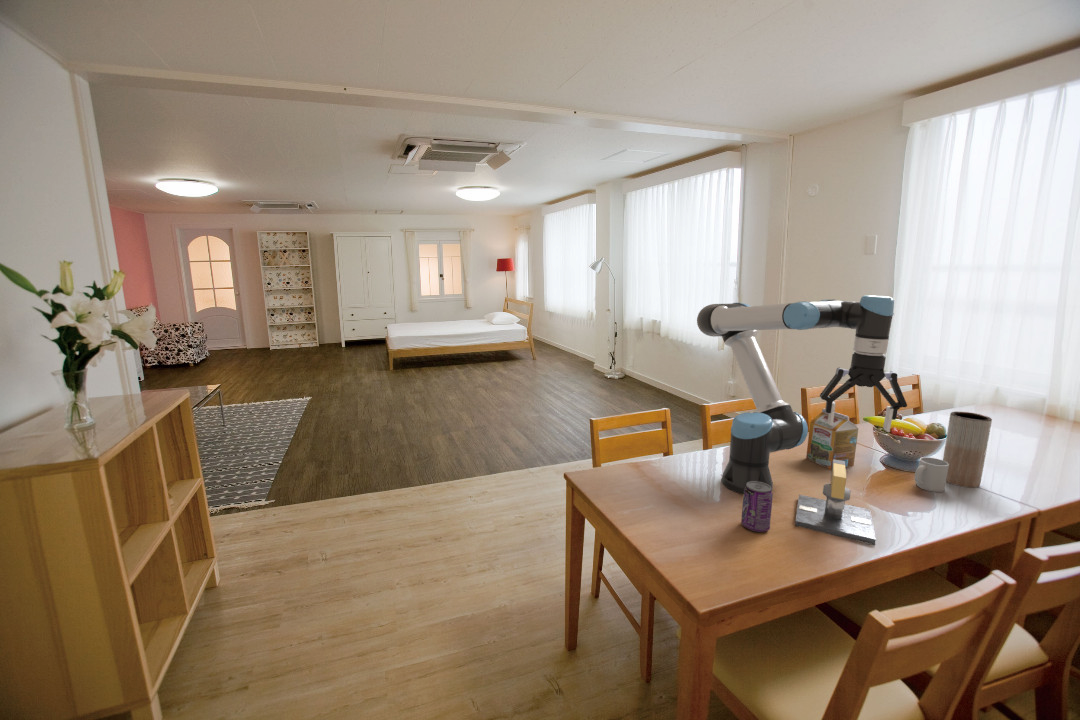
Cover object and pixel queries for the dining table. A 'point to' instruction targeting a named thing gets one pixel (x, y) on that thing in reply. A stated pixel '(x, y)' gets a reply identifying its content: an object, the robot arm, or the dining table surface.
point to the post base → (835, 518)
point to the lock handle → (837, 483)
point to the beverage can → (757, 506)
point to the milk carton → (832, 440)
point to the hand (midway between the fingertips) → (857, 427)
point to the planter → (966, 448)
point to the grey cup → (931, 474)
